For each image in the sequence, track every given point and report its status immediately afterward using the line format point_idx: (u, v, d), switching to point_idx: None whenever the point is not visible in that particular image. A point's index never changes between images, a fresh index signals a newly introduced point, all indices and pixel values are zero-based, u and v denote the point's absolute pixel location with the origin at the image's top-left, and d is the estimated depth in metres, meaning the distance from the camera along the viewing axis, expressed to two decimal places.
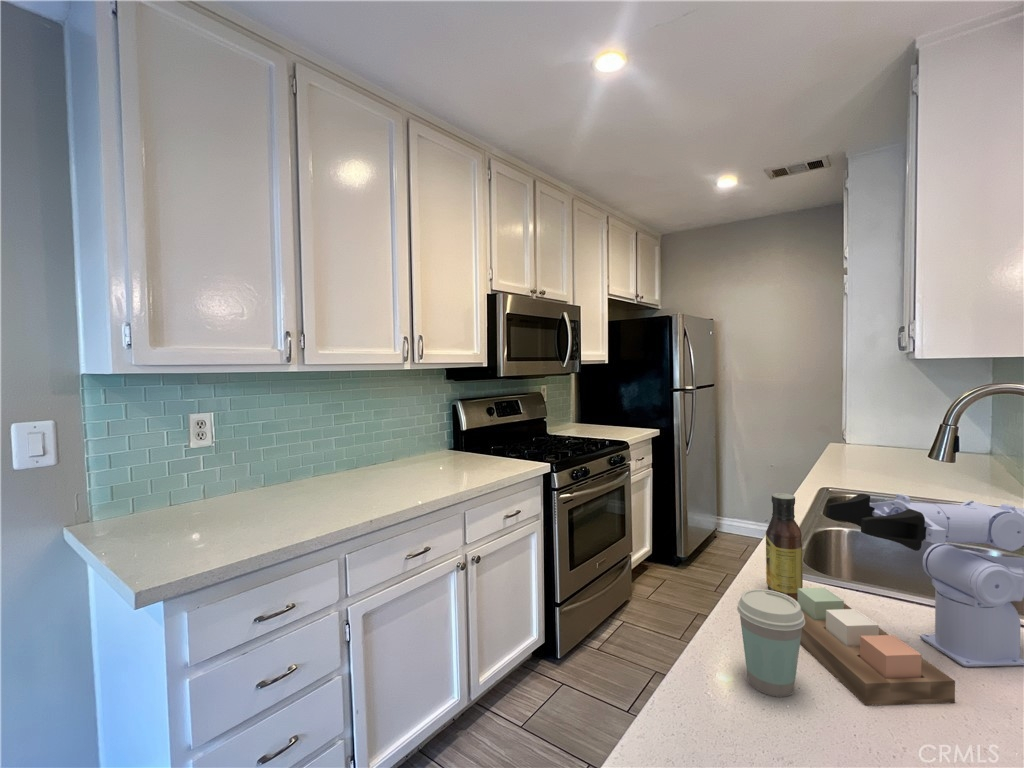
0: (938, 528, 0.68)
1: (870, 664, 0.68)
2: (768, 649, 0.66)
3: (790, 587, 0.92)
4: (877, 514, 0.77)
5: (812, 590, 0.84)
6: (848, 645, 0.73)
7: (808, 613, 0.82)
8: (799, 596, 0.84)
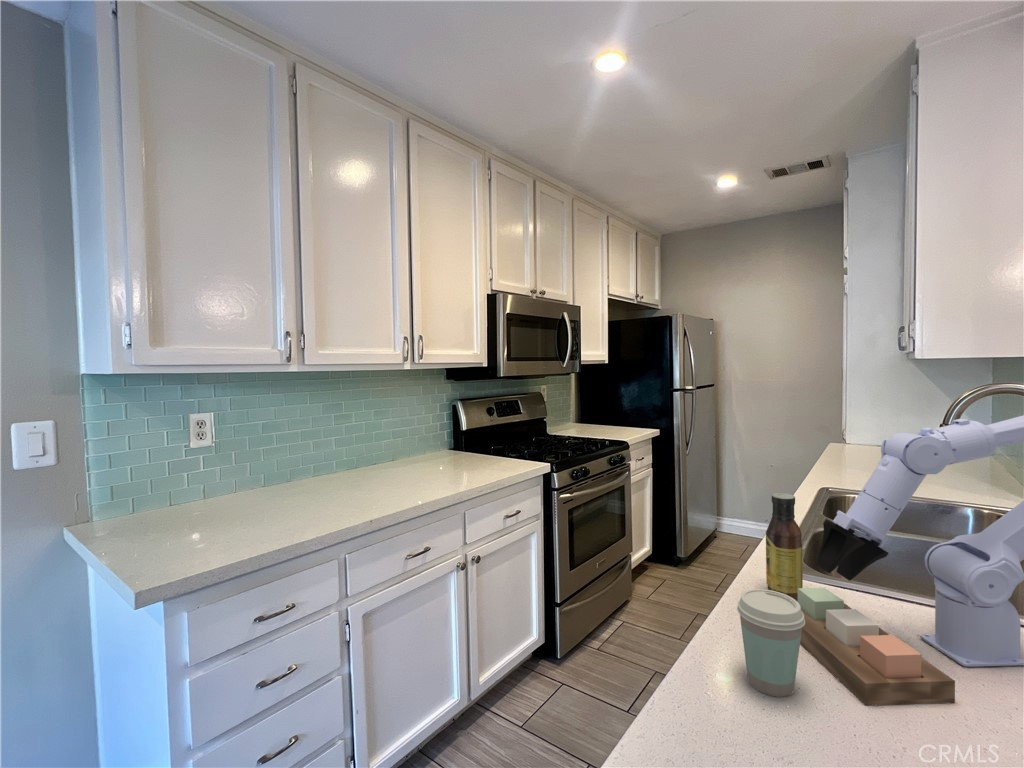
0: None
1: (870, 664, 0.68)
2: (768, 649, 0.66)
3: (790, 587, 0.92)
4: None
5: (812, 590, 0.84)
6: (848, 645, 0.73)
7: (808, 613, 0.82)
8: (799, 596, 0.84)
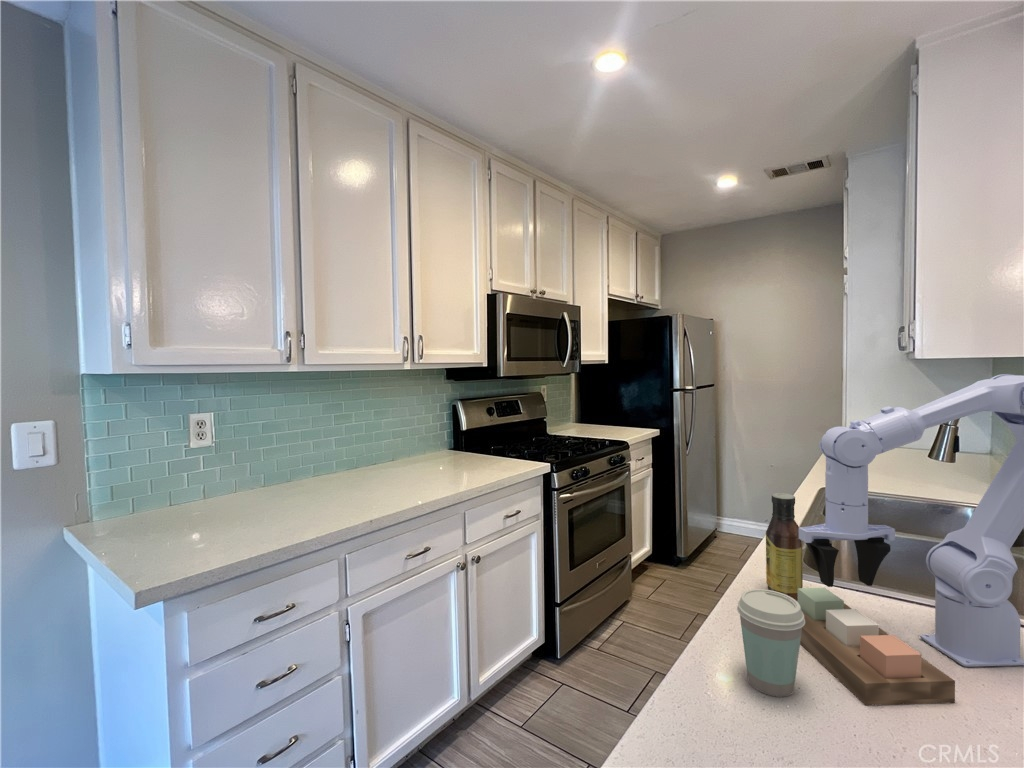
0: None
1: (870, 664, 0.68)
2: (768, 649, 0.66)
3: (790, 587, 0.92)
4: (862, 538, 0.79)
5: (812, 590, 0.84)
6: (848, 645, 0.73)
7: (808, 613, 0.82)
8: (799, 596, 0.84)
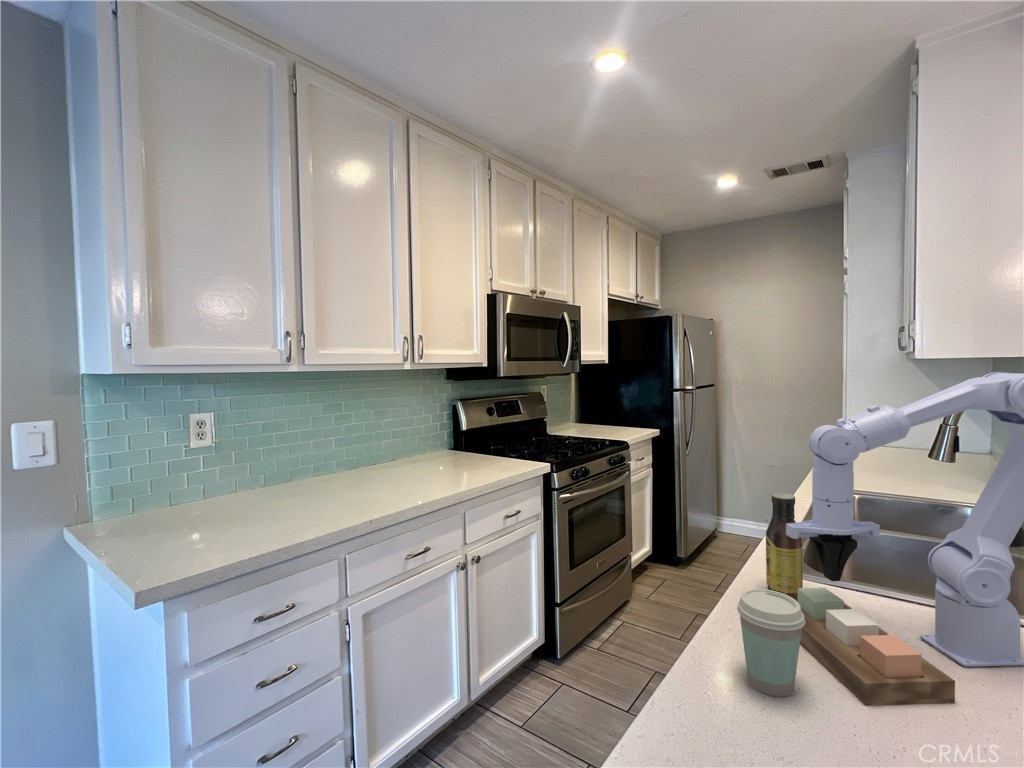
0: None
1: (870, 664, 0.68)
2: (768, 649, 0.66)
3: (790, 587, 0.92)
4: None
5: (812, 590, 0.84)
6: (848, 645, 0.73)
7: (808, 613, 0.82)
8: (799, 596, 0.84)
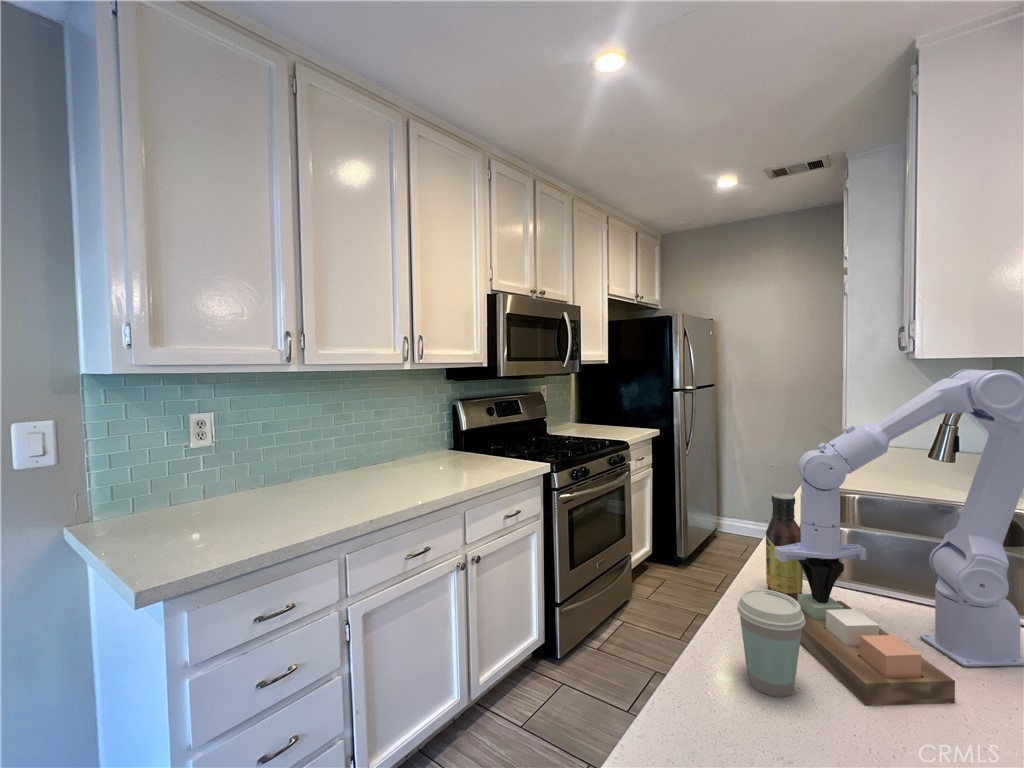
0: None
1: (870, 664, 0.68)
2: (768, 649, 0.66)
3: (790, 587, 0.92)
4: None
5: None
6: (848, 645, 0.73)
7: None
8: (799, 602, 0.84)
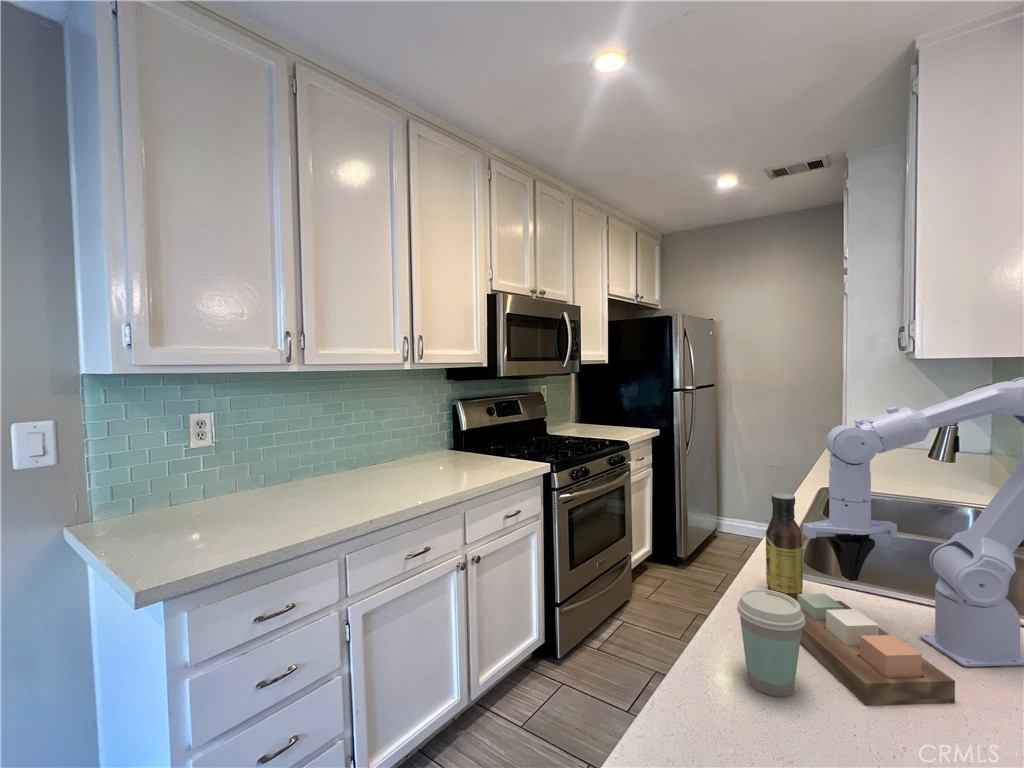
0: None
1: (870, 664, 0.68)
2: (768, 649, 0.66)
3: (790, 587, 0.92)
4: None
5: (812, 596, 0.84)
6: (848, 645, 0.73)
7: None
8: (799, 602, 0.84)
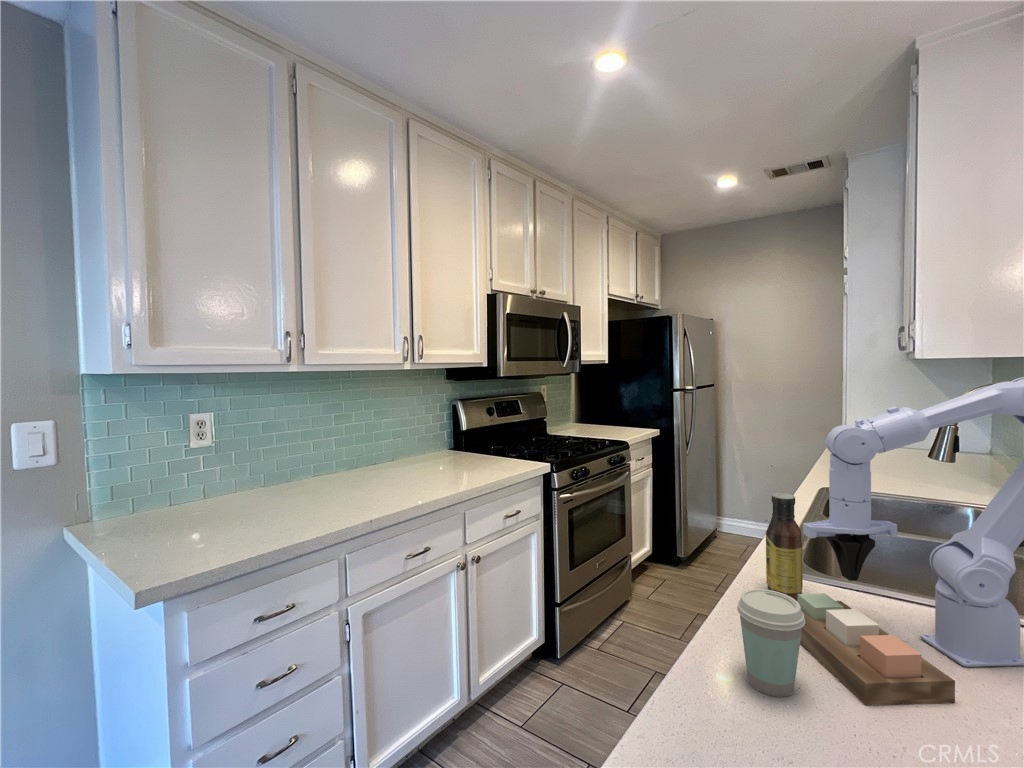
0: None
1: (870, 664, 0.68)
2: (768, 649, 0.66)
3: (790, 587, 0.92)
4: None
5: (812, 596, 0.84)
6: (848, 645, 0.73)
7: None
8: (799, 602, 0.84)
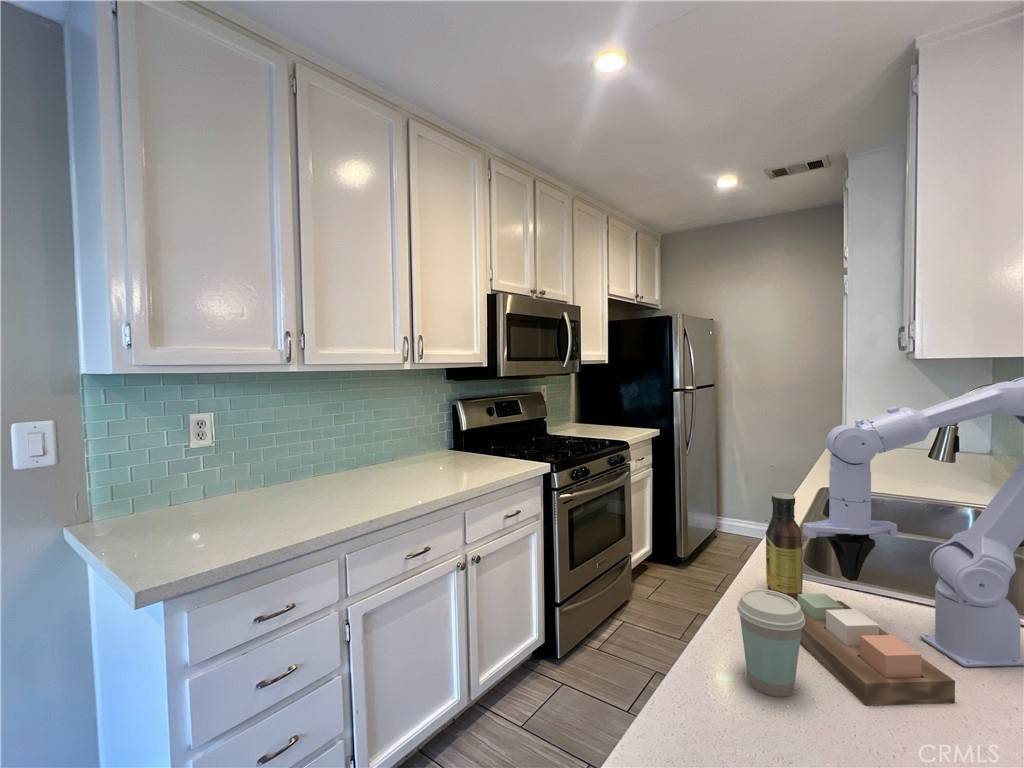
0: None
1: (870, 664, 0.68)
2: (768, 649, 0.66)
3: (790, 587, 0.92)
4: None
5: (812, 596, 0.84)
6: (848, 645, 0.73)
7: None
8: (799, 602, 0.84)
